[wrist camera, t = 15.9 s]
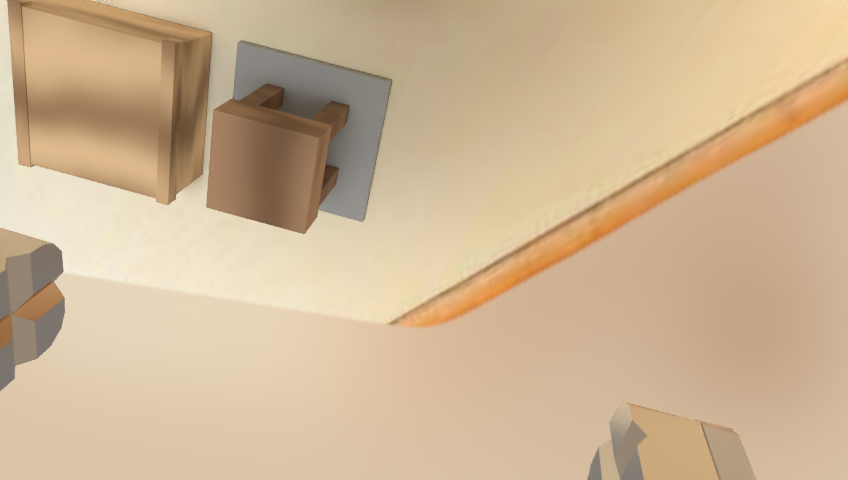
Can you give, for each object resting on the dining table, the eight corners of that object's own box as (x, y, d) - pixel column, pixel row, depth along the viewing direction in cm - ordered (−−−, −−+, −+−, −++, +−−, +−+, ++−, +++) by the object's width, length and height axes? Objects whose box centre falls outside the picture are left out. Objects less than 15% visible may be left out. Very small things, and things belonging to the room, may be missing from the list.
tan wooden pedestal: (63, -10, 43) (7, -1, 38) (213, 30, 43) (175, 43, 38) (67, 140, 48) (18, 164, 43) (203, 177, 47) (167, 205, 43)
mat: (241, 40, 43) (238, 42, 42) (392, 80, 42) (390, 82, 42) (229, 181, 47) (225, 184, 47) (364, 218, 47) (362, 221, 46)
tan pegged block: (254, 164, 46) (206, 207, 39) (263, 79, 43) (213, 109, 36) (338, 187, 45) (304, 233, 39) (353, 103, 43) (319, 137, 36)
